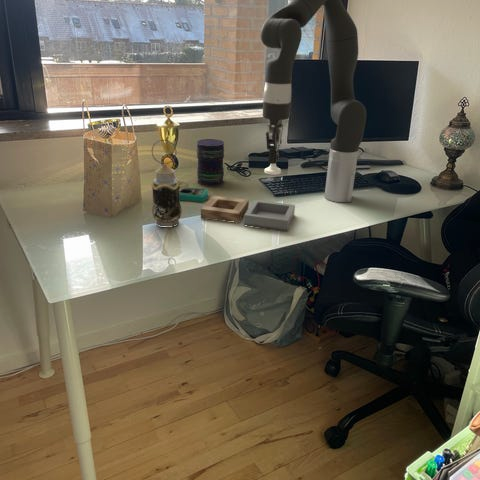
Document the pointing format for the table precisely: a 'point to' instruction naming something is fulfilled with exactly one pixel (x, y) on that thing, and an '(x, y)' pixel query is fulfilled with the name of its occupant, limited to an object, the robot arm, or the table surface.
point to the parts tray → (269, 215)
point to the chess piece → (272, 168)
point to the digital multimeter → (193, 194)
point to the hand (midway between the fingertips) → (273, 161)
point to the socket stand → (225, 208)
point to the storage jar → (210, 162)
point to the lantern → (166, 195)
